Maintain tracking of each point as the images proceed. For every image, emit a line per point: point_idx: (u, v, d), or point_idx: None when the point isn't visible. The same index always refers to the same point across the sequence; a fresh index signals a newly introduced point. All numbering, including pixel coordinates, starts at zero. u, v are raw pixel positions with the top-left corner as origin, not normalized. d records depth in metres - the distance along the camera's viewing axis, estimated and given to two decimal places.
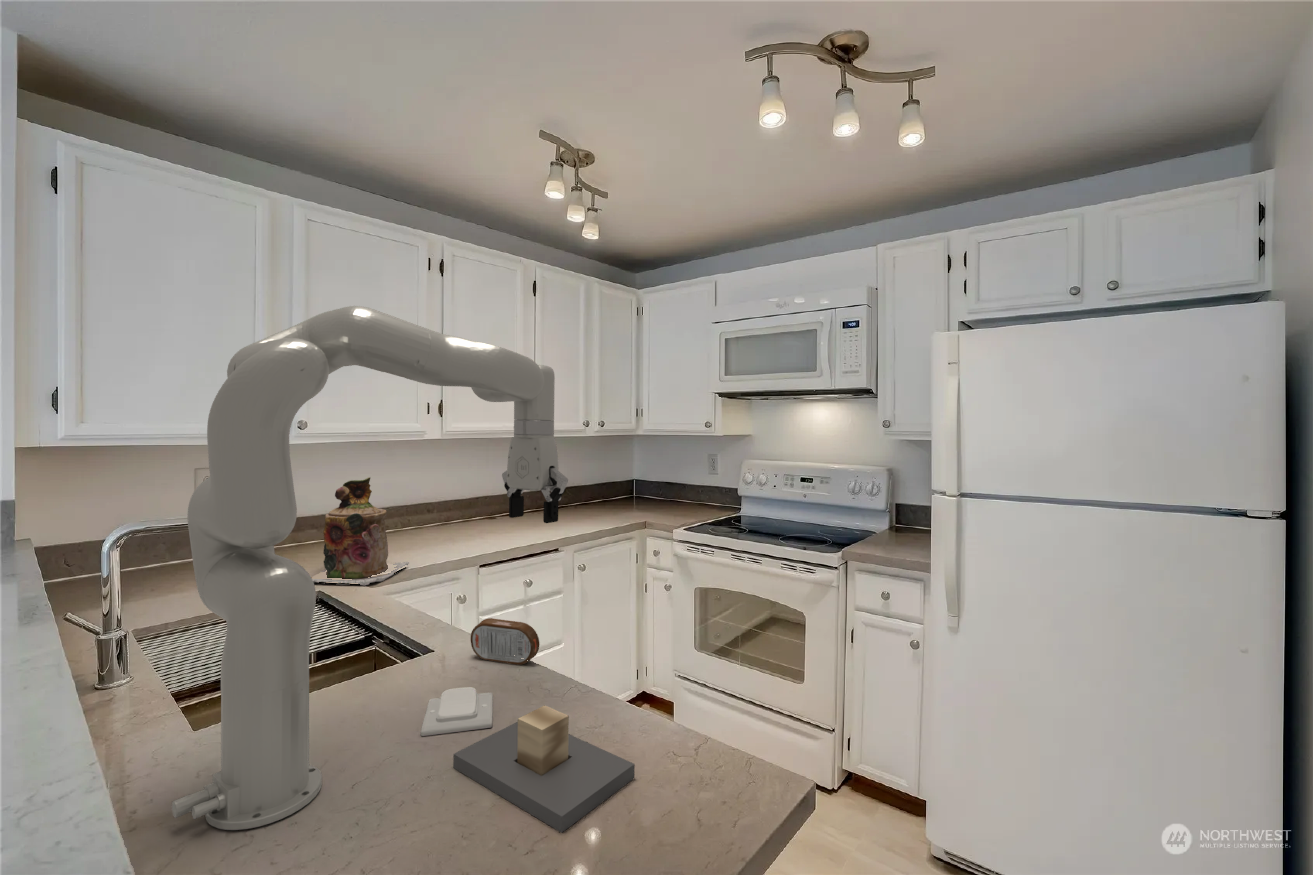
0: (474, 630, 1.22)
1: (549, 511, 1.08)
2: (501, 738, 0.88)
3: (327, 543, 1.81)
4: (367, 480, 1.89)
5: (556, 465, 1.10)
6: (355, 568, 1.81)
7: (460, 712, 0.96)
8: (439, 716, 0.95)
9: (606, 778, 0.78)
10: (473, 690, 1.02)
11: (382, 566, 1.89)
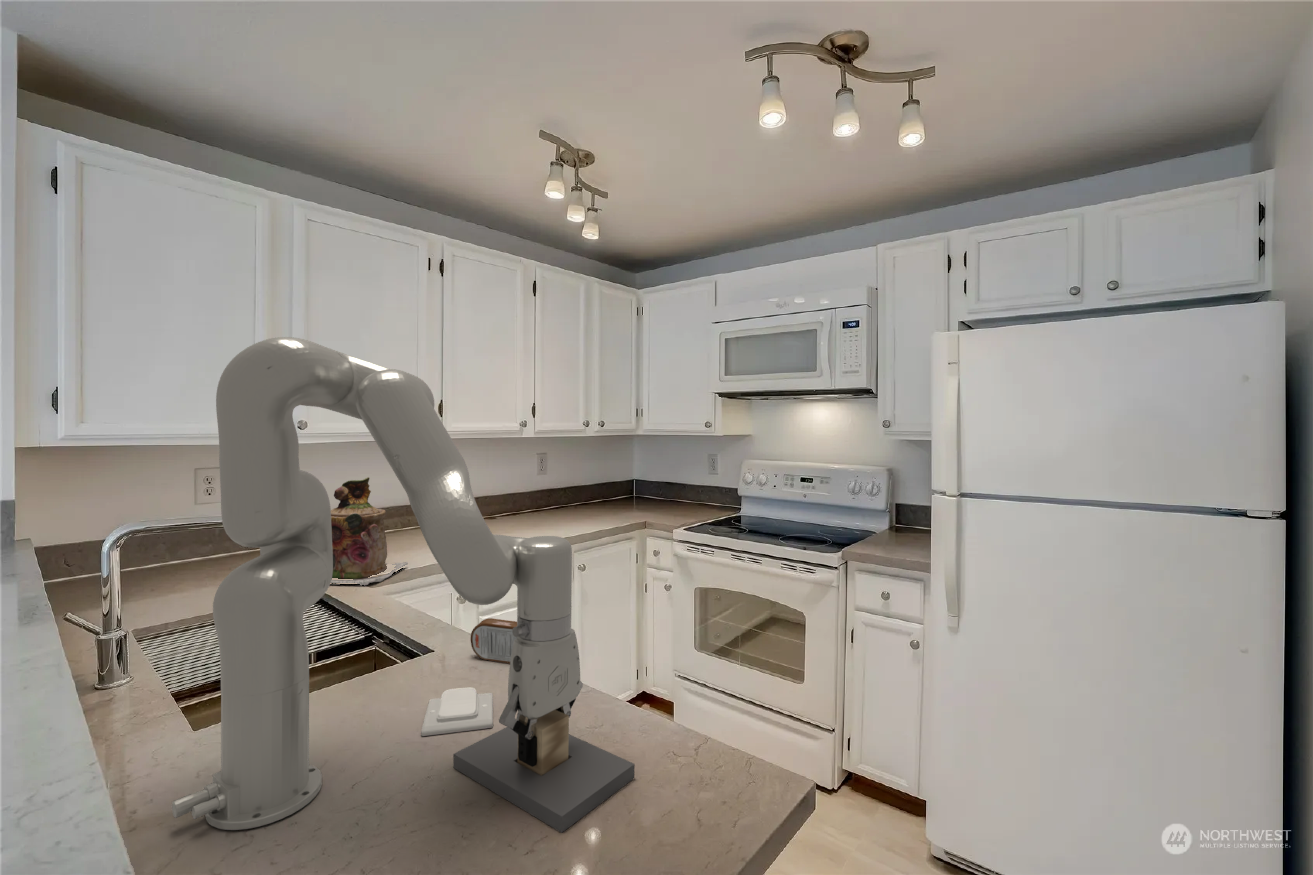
0: (474, 630, 1.22)
1: None
2: (501, 738, 0.88)
3: None
4: (366, 480, 1.88)
5: None
6: (354, 569, 1.81)
7: (461, 712, 0.96)
8: (439, 716, 0.95)
9: (606, 778, 0.78)
10: (473, 690, 1.02)
11: (381, 566, 1.88)
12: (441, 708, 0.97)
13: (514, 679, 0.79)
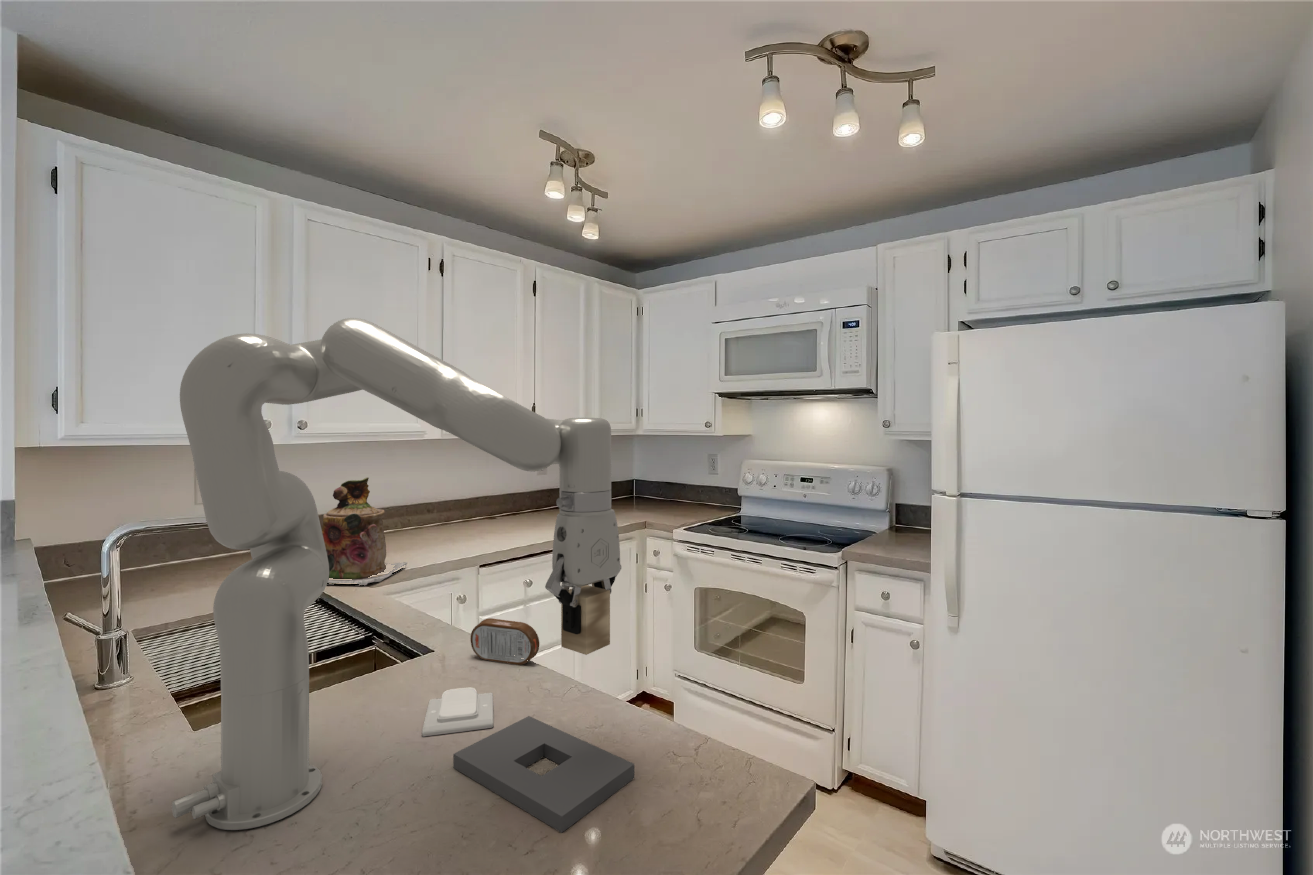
0: (474, 630, 1.22)
1: None
2: (501, 738, 0.88)
3: (325, 543, 1.80)
4: (365, 480, 1.88)
5: None
6: (353, 569, 1.80)
7: (461, 712, 0.96)
8: (440, 716, 0.95)
9: (606, 778, 0.78)
10: (474, 690, 1.02)
11: (380, 566, 1.88)
12: (441, 708, 0.97)
13: (558, 549, 0.81)
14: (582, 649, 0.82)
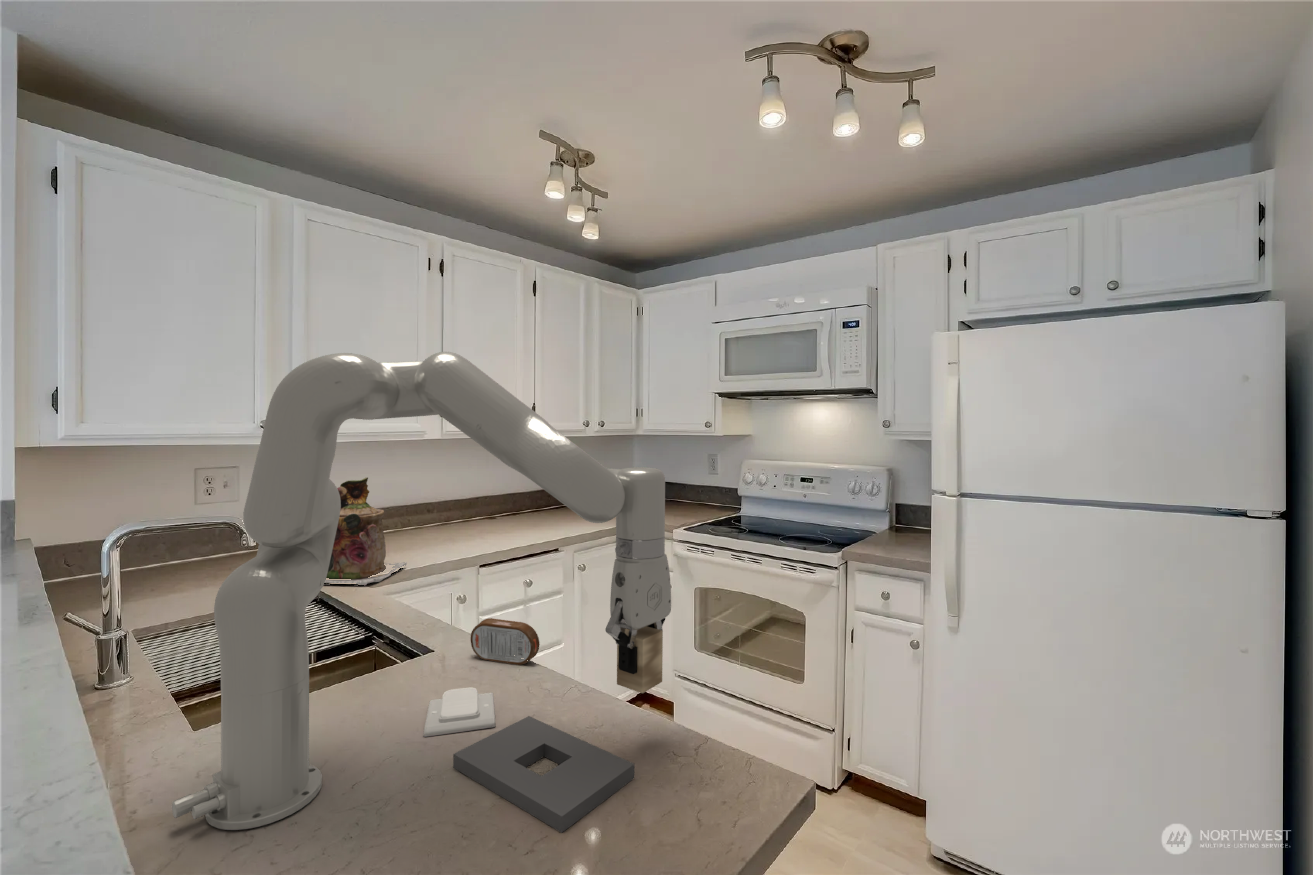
0: (474, 630, 1.22)
1: None
2: (501, 738, 0.88)
3: None
4: (365, 480, 1.88)
5: None
6: (352, 569, 1.80)
7: (463, 712, 0.96)
8: (441, 716, 0.95)
9: (606, 778, 0.78)
10: (474, 690, 1.02)
11: (379, 566, 1.88)
12: (443, 708, 0.97)
13: (616, 593, 0.86)
14: (639, 687, 0.87)
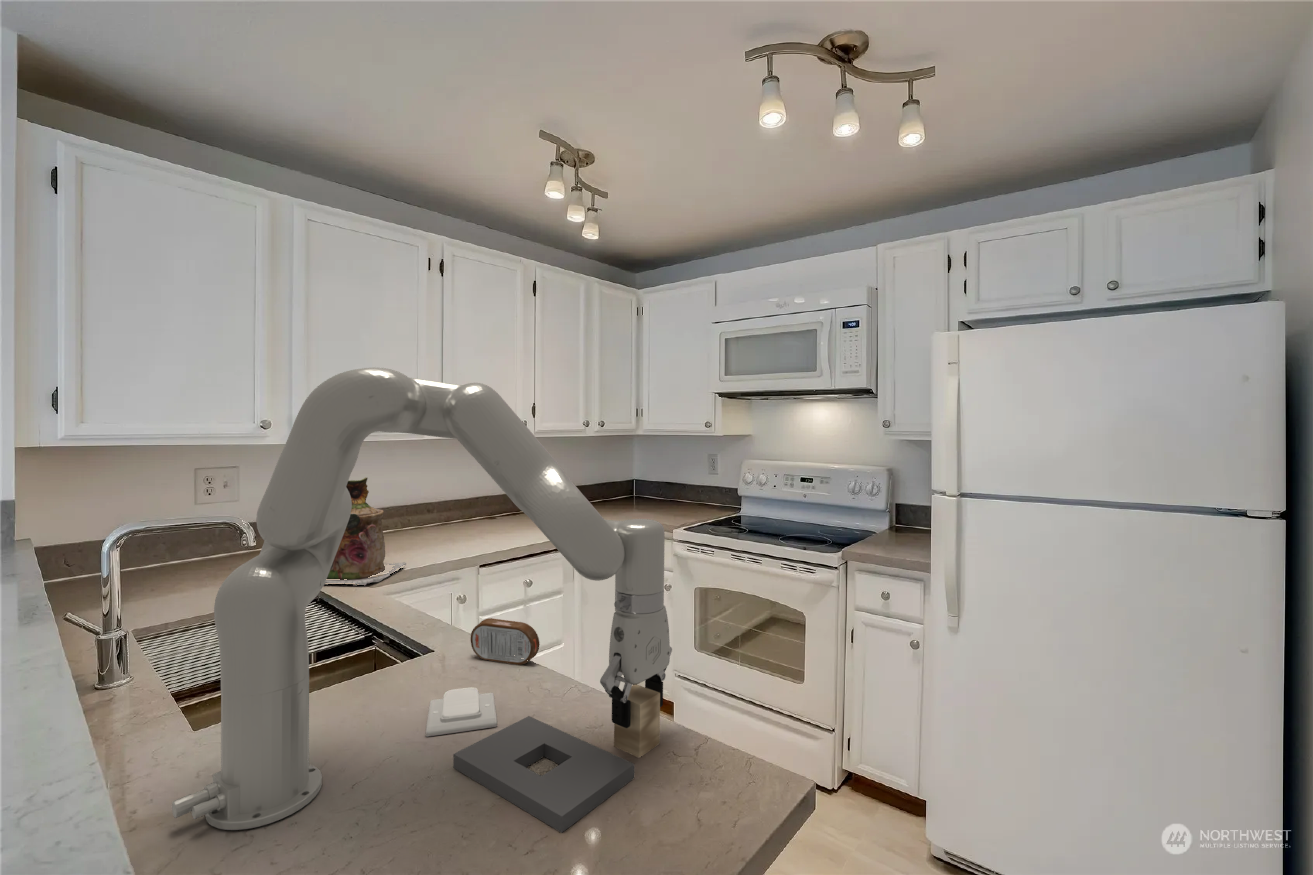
0: (474, 630, 1.22)
1: None
2: (501, 738, 0.88)
3: None
4: (364, 480, 1.88)
5: None
6: (351, 569, 1.80)
7: (464, 712, 0.96)
8: (443, 716, 0.95)
9: (606, 778, 0.78)
10: (475, 690, 1.02)
11: (379, 566, 1.88)
12: (444, 708, 0.97)
13: (615, 648, 0.86)
14: (636, 752, 0.87)
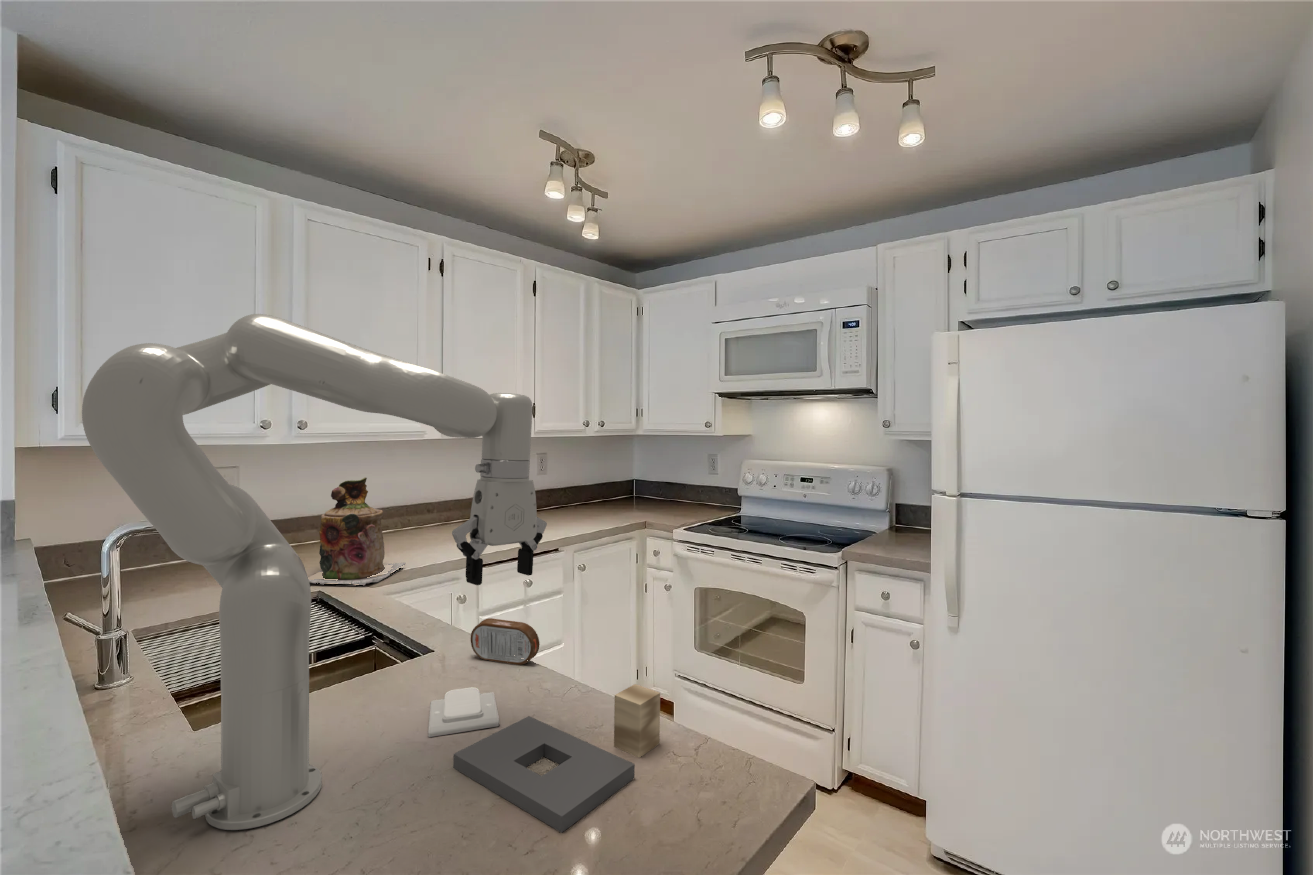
0: (474, 630, 1.22)
1: None
2: (501, 738, 0.88)
3: (323, 544, 1.80)
4: (363, 480, 1.88)
5: None
6: (351, 569, 1.80)
7: (466, 712, 0.96)
8: (445, 717, 0.95)
9: (606, 778, 0.78)
10: (476, 690, 1.02)
11: (378, 566, 1.88)
12: (446, 709, 0.97)
13: (474, 510, 0.89)
14: (636, 752, 0.87)
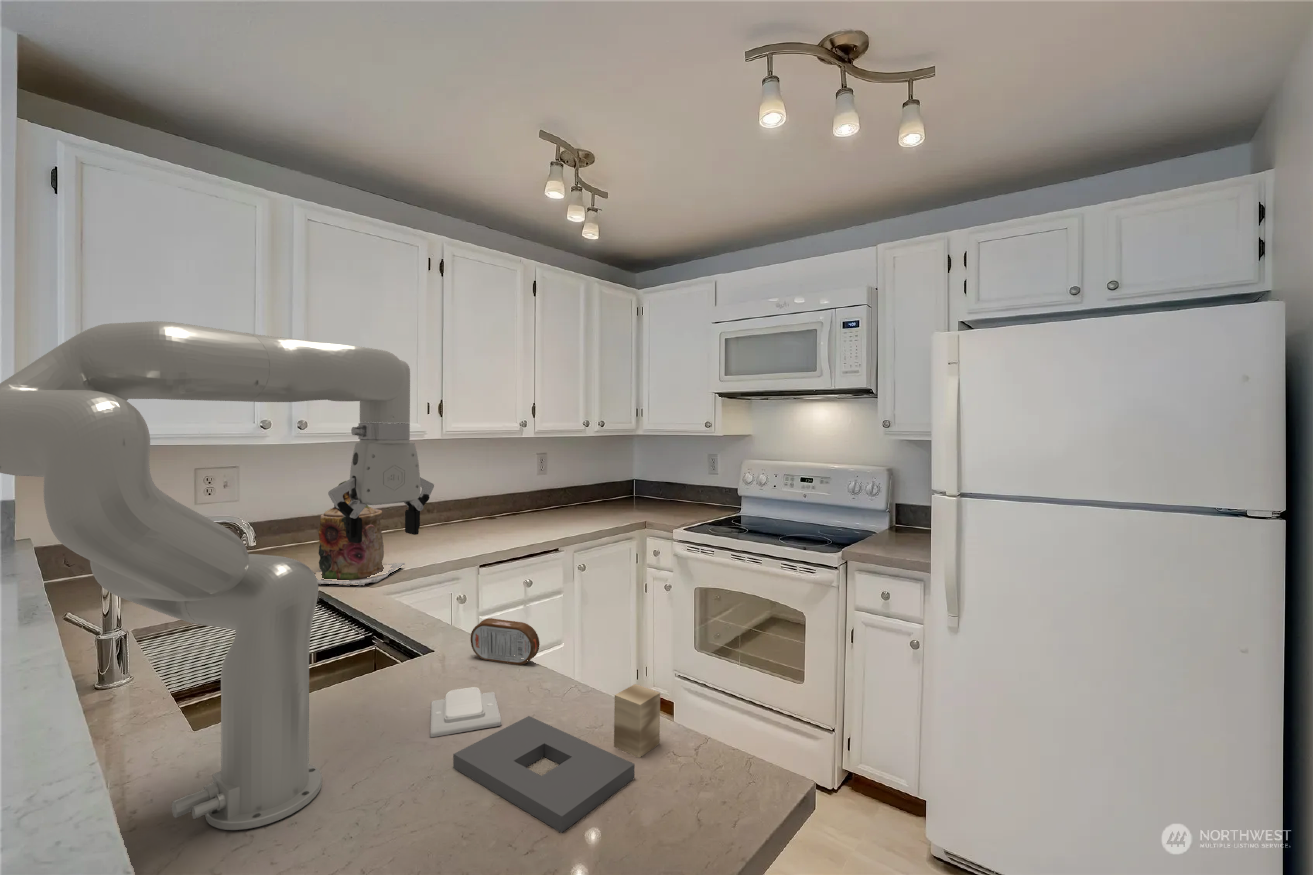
0: (474, 630, 1.22)
1: None
2: (501, 738, 0.88)
3: (322, 544, 1.80)
4: None
5: None
6: (350, 569, 1.80)
7: (468, 711, 0.96)
8: (447, 717, 0.95)
9: (606, 778, 0.78)
10: (477, 690, 1.02)
11: (377, 566, 1.88)
12: (447, 709, 0.97)
13: (352, 472, 0.92)
14: (636, 752, 0.87)
